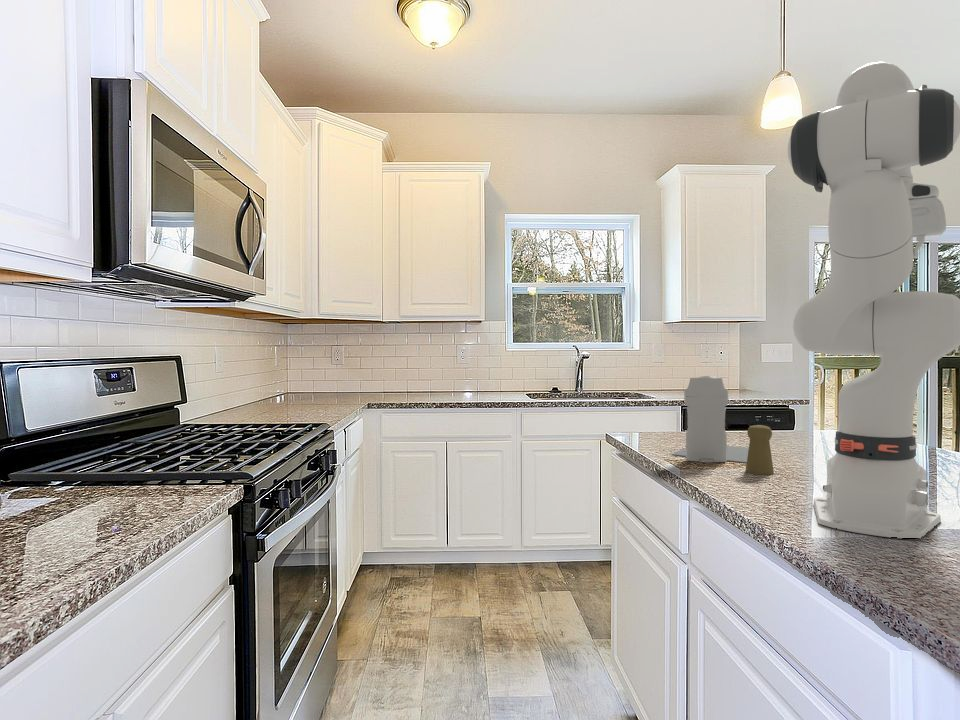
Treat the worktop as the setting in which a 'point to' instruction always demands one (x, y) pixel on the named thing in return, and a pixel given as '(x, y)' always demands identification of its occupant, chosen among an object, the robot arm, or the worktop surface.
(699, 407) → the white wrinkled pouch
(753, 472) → the cork
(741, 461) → the mat
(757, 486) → the worktop surface
